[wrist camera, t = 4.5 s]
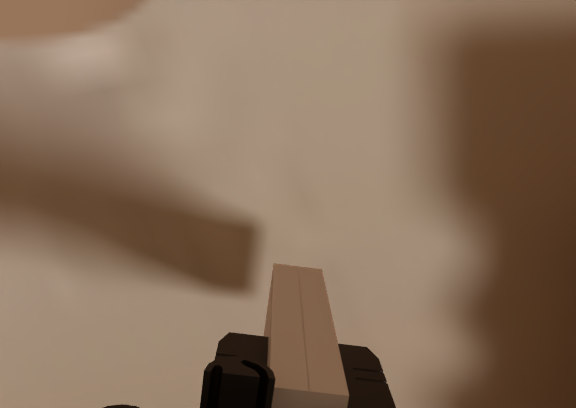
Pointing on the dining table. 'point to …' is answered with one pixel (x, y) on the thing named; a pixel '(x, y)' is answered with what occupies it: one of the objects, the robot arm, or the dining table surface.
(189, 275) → the dining table surface
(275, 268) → the robot arm
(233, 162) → the dining table surface
